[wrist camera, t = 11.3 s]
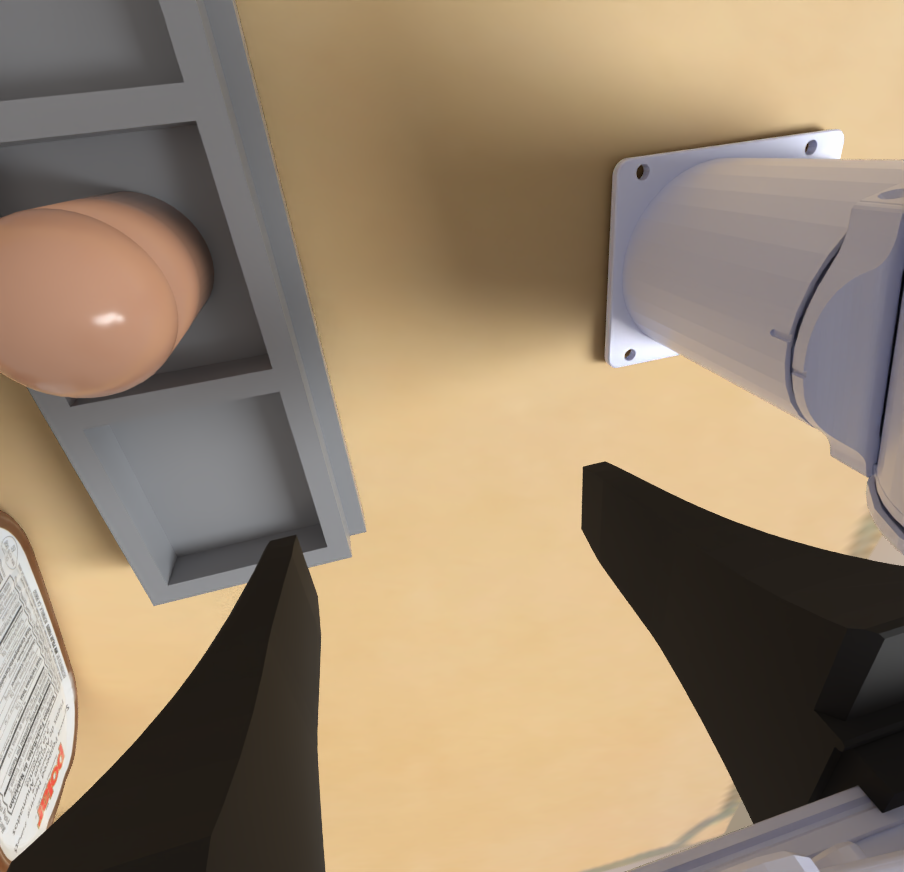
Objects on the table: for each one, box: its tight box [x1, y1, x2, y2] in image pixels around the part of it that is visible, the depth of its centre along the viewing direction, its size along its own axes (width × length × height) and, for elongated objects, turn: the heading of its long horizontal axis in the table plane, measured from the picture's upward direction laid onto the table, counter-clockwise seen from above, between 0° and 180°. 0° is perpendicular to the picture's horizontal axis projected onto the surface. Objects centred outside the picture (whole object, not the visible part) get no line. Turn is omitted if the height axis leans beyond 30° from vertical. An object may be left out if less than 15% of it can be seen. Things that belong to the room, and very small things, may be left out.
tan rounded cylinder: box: [0, 191, 214, 398], centre depth 13 cm, size 4×4×7 cm
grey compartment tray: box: [0, 0, 366, 606], centre depth 15 cm, size 9×24×3 cm, turn 6°
